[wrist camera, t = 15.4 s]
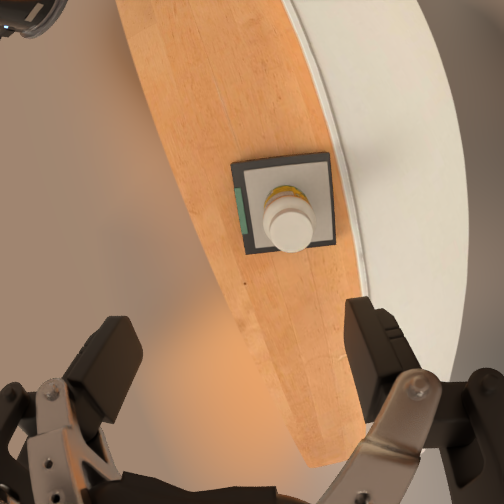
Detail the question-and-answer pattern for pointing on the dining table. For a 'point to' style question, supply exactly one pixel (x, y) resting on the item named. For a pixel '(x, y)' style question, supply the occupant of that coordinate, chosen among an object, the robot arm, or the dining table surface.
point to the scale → (276, 174)
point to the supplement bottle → (288, 218)
